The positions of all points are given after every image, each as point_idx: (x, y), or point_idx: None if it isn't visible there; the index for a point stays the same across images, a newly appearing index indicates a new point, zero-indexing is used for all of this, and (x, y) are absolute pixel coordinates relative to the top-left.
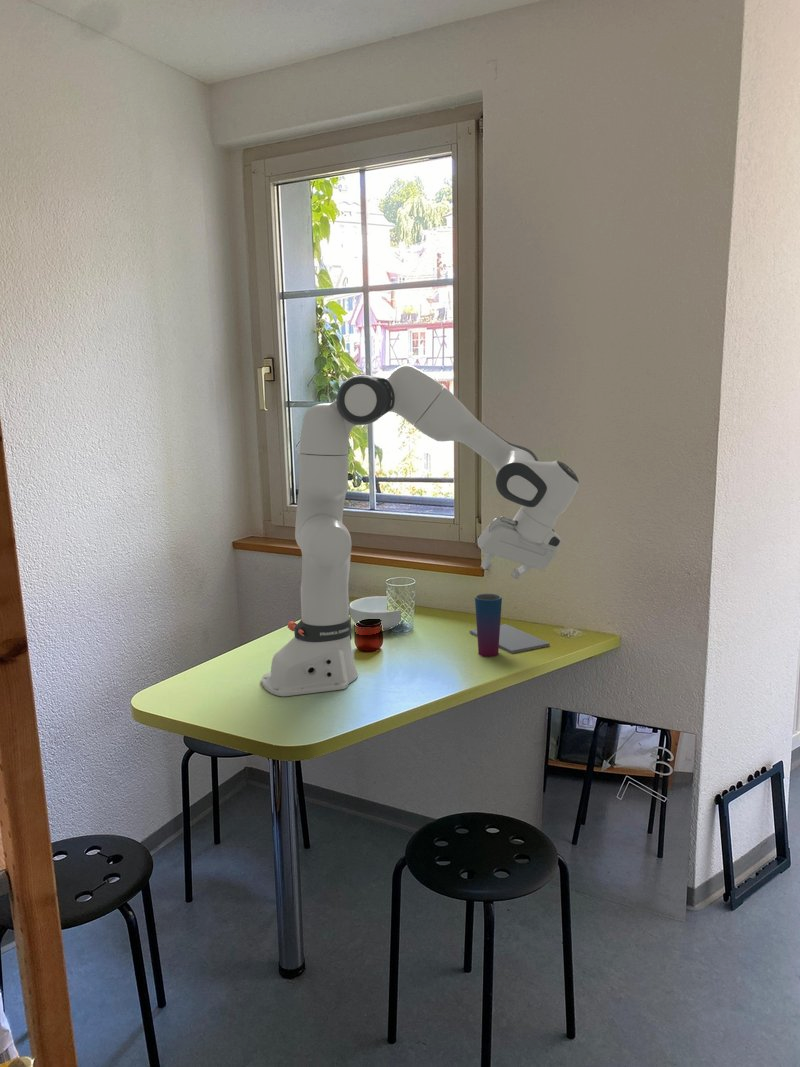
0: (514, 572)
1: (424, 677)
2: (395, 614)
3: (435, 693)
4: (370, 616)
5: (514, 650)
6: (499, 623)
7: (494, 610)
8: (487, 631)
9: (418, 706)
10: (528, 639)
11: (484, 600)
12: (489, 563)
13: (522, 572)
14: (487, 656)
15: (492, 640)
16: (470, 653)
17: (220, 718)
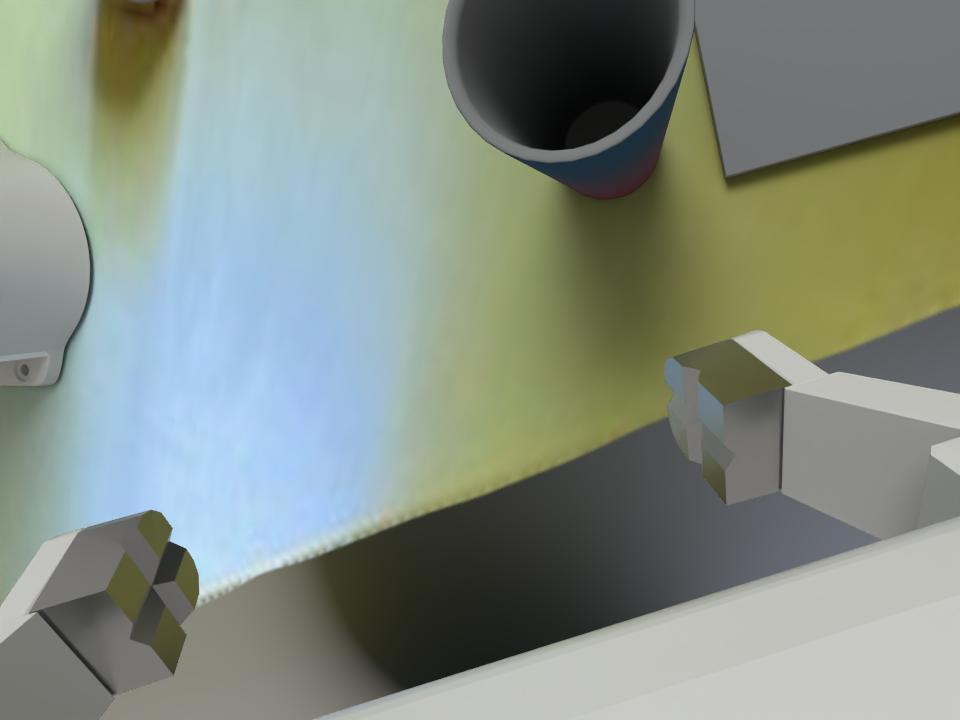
0: (705, 427)
1: (282, 360)
2: None
3: (285, 515)
4: None
5: (747, 170)
6: (649, 153)
7: (587, 170)
8: (563, 183)
9: (222, 589)
10: None
11: (490, 143)
12: (93, 715)
13: (832, 509)
14: (586, 195)
15: (600, 193)
16: None
17: None
